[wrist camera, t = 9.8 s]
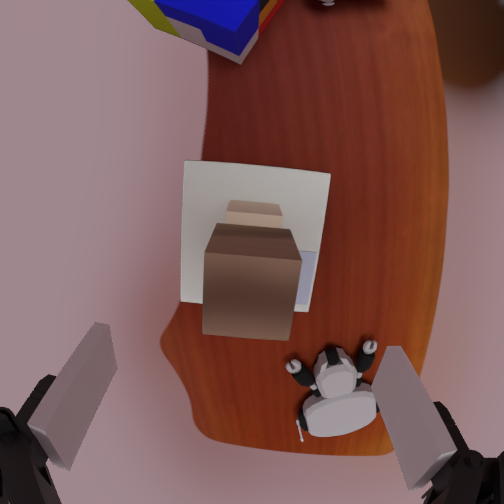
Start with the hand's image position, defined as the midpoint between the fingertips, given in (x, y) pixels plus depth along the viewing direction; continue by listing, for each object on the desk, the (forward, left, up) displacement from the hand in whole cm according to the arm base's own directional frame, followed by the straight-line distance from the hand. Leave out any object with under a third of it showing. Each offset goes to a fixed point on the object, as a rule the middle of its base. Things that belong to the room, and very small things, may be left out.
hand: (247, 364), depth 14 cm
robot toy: (+19, +13, -20) cm, 31 cm away
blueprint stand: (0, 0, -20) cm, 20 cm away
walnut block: (0, 0, -14) cm, 14 cm away
